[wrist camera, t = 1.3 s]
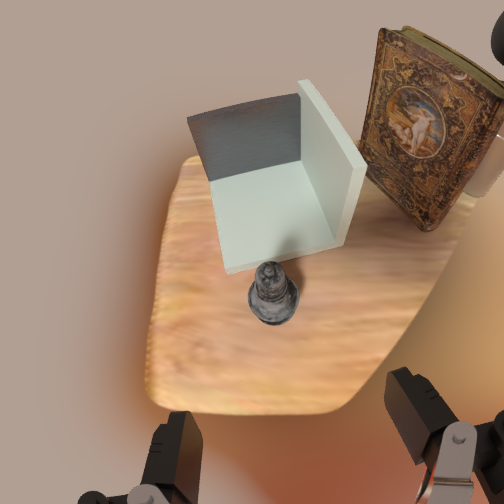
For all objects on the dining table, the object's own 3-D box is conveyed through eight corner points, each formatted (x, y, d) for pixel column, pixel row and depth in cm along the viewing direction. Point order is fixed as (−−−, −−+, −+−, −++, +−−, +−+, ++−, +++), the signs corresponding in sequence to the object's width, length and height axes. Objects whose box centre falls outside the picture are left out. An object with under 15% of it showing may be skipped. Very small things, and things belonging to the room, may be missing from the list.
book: (444, 219, 38) (518, 95, 16) (426, 237, 37) (507, 105, 15) (375, 153, 45) (403, 23, 23) (354, 166, 44) (378, 25, 22)
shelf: (306, 161, 46) (308, 79, 31) (342, 245, 38) (367, 165, 24) (211, 184, 46) (182, 105, 32) (227, 274, 39) (192, 205, 24)
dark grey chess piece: (242, 311, 36) (222, 276, 26) (268, 274, 38) (260, 227, 27) (281, 336, 34) (277, 313, 24) (307, 298, 36) (315, 258, 25)
